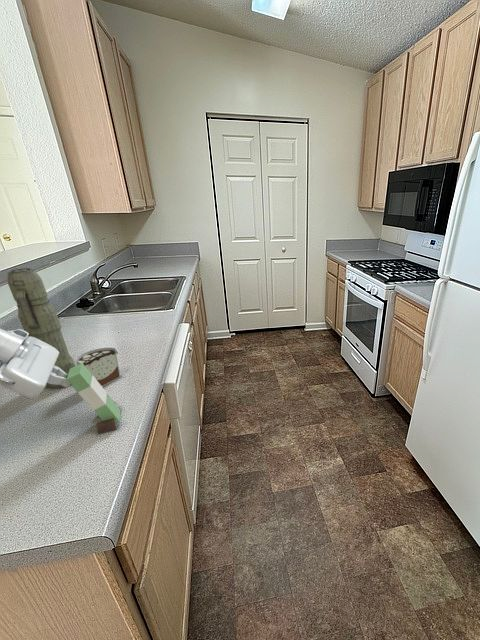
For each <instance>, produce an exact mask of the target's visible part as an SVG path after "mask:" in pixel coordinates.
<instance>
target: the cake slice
mask: <svg viewBox="0 0 480 640" xmlns="http://www.w3.org/2000/svg"><path fill="white" fill-rule="evenodd" d="M117 350H118V349H116V348H115V347H101V348H100V347H99V348H95V349H92V350H89V351H85V352H83V353H81V354H80V355H79V356H77V358H76V361H75V362H76V363H75V364H76V366H77V365H79V364H81V363H83V364H84V366H85V367H86V368H87V369H88V371H89V372H90V373H91V374H92V375H93V376H94V377H95V379H96V380H97V381H98V382H99V384H100V385H101V386H102V387H103V388H104V387H105V386H107V385H109V384H111V383H113V382H114V381H117V380H119V379H120V378H121V372H120V367H119V361H118V356H117V355H118V354H119V352H118V351H117Z"/></svg>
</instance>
